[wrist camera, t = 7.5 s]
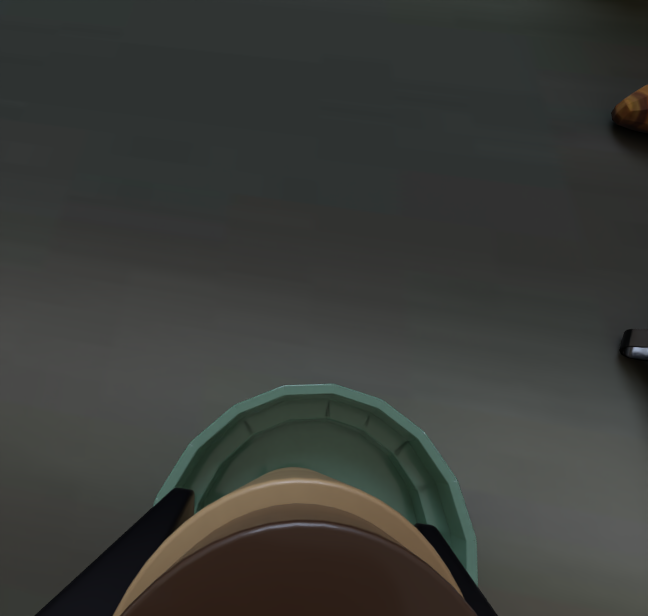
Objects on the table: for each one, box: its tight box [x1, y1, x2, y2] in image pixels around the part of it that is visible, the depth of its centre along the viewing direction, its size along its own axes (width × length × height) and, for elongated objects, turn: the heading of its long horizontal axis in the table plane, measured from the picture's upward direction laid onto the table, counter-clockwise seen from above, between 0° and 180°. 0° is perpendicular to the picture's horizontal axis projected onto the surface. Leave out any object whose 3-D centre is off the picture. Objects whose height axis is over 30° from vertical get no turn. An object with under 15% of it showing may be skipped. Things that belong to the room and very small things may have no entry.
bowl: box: [153, 384, 478, 587], centre depth 18 cm, size 14×14×4 cm
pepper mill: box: [113, 467, 478, 616], centre depth 7 cm, size 5×5×12 cm
